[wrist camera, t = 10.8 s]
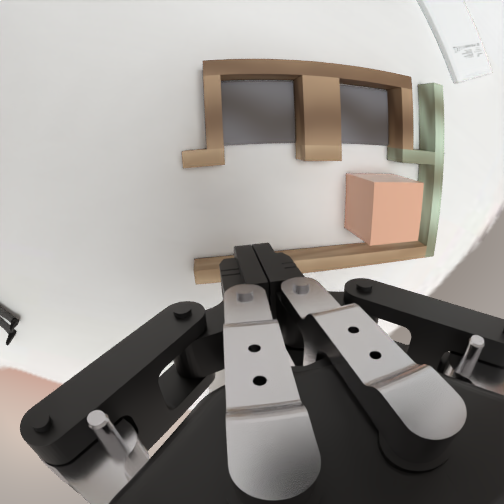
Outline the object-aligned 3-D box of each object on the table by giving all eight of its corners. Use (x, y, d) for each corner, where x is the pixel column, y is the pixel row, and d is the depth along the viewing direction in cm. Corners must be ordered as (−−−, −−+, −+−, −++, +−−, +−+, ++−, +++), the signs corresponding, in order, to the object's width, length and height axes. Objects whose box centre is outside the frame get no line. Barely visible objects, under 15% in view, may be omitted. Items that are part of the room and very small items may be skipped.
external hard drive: (446, -16, 19) (486, 73, 24) (403, -17, 19) (450, 83, 24) (454, -19, 17) (495, 72, 22) (411, -21, 18) (459, 82, 22)
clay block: (345, 173, 26) (374, 182, 21) (391, 173, 26) (423, 182, 22) (343, 227, 27) (369, 245, 23) (388, 224, 28) (418, 240, 23)
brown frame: (180, 70, 20) (177, 63, 18) (426, 86, 23) (442, 85, 21) (196, 271, 27) (195, 284, 24) (419, 247, 30) (433, 256, 27)
